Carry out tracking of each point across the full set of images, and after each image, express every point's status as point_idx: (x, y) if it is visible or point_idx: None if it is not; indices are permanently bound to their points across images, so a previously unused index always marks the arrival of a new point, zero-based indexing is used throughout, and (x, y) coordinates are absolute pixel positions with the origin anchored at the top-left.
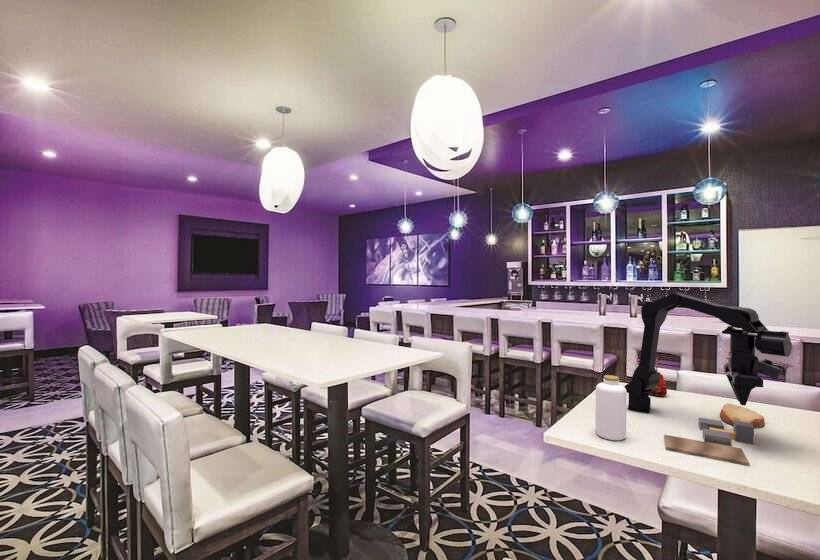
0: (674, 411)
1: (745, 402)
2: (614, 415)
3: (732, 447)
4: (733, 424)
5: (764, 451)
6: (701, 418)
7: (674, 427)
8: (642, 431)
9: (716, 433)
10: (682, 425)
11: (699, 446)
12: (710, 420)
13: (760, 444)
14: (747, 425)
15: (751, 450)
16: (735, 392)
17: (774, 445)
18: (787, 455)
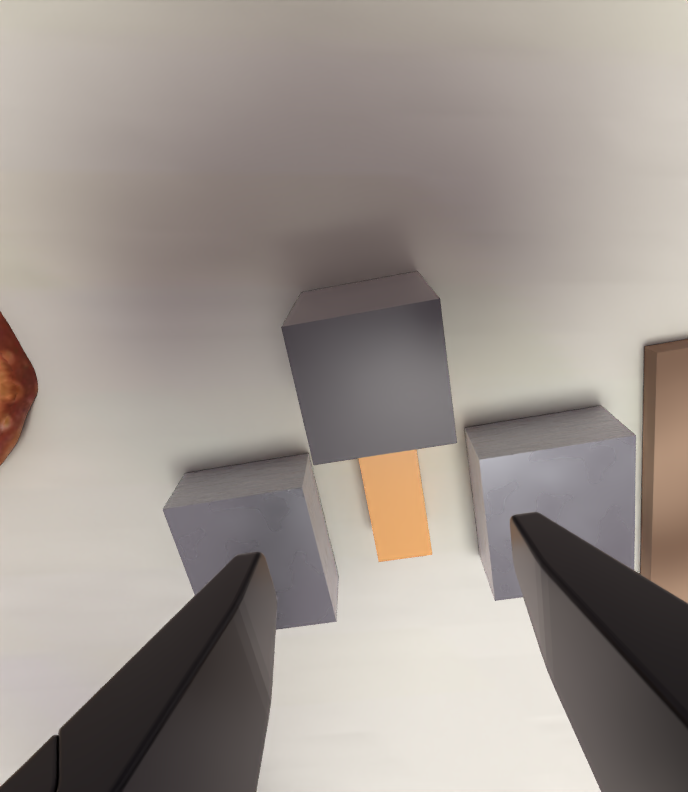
0: (37, 713)
1: (576, 550)
2: None
3: (672, 403)
4: (25, 413)
5: (539, 197)
6: None
7: (398, 685)
8: None
9: (562, 524)
10: (317, 657)
11: None
12: None
13: (370, 225)
14: (405, 355)
15: (576, 284)
16: (250, 784)
17: (311, 121)
18: (527, 22)
